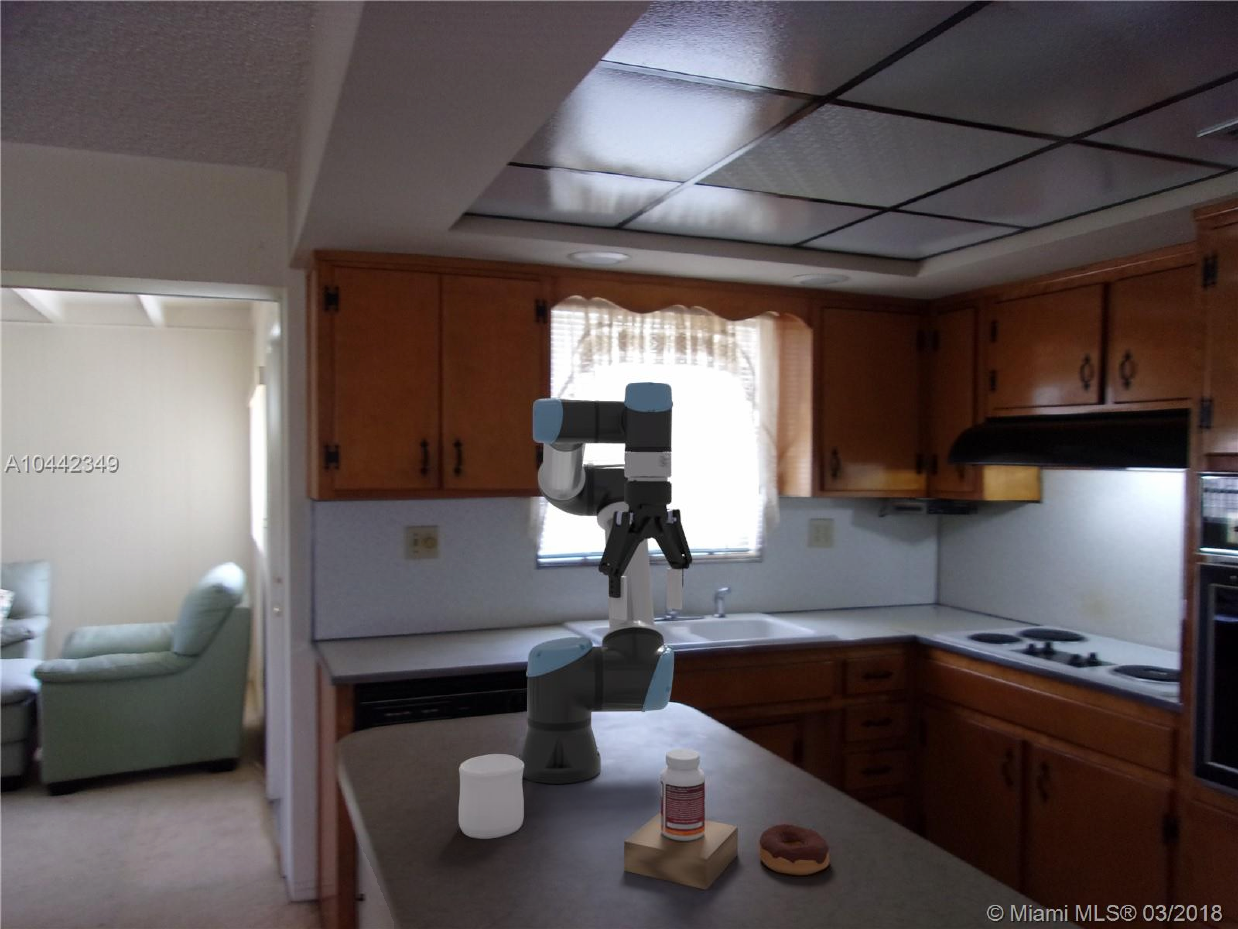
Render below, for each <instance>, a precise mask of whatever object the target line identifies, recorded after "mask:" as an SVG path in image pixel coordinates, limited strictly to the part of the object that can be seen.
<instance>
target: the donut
mask: <svg viewBox="0 0 1238 929" xmlns="http://www.w3.org/2000/svg"><path fill="white" fill-rule="evenodd" d="M758 841H759V843H758V847H759V850H758V856H759V857H760V860H761V862H762V863H763V864H764V865H765V866H766V867H768V868H769V869H770V870H772V871H774V872H776V873H781V874H786V875H793V876H807V875H811V874H815V873H818V872H819V871H821V870H824V869H825V868H827V867H828V866H829V864H830V854H829V850H830V847H829V845H828V842H827V841H826V839H825V837H823V836H822V835H821V834H820V833H818V832H817V831H815V830H812V829H811V828H810V829H809V828H805V827H802V826H797V825H794V824H788V823H786V824H785V823H782V824H776V825H774V826H772V827H771V826H770V827H769V828H768V829H766V830H765V831H762V834H761V835H760V837H759V840H758Z"/></svg>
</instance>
